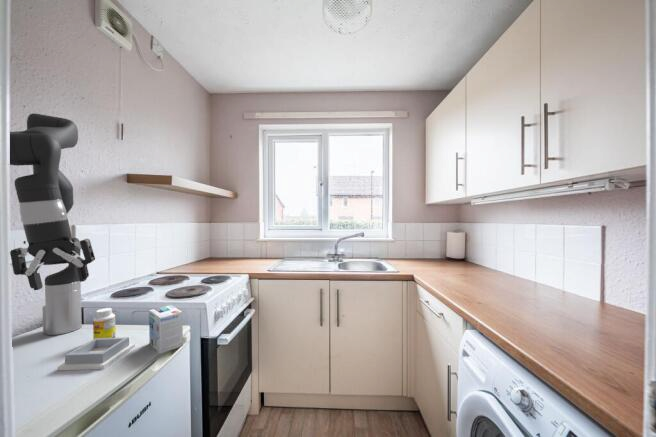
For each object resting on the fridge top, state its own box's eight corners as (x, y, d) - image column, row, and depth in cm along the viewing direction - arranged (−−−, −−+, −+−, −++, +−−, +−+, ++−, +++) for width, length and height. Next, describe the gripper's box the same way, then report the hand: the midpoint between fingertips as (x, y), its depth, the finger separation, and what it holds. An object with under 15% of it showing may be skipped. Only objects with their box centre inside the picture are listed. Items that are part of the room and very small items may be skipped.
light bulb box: (148, 343, 86) (147, 309, 86) (171, 336, 91) (171, 304, 91) (159, 354, 79) (158, 317, 79) (184, 346, 84) (183, 311, 84)
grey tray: (57, 370, 72) (57, 357, 72) (95, 348, 84) (94, 336, 84) (104, 368, 72) (103, 355, 72) (134, 346, 84) (134, 335, 84)
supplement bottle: (90, 342, 88) (89, 311, 88) (110, 335, 92) (110, 306, 92) (98, 346, 85) (97, 313, 85) (118, 339, 90) (118, 308, 90)
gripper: (89, 214, 71) (102, 274, 73) (14, 222, 65) (31, 286, 67) (77, 217, 64) (92, 282, 66) (-8, 226, 58) (12, 297, 61)
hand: (61, 284), depth 67 cm, fingers open, 8 cm apart
